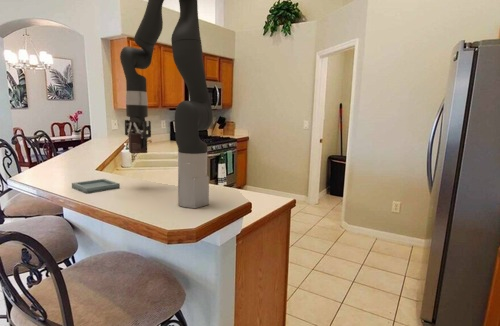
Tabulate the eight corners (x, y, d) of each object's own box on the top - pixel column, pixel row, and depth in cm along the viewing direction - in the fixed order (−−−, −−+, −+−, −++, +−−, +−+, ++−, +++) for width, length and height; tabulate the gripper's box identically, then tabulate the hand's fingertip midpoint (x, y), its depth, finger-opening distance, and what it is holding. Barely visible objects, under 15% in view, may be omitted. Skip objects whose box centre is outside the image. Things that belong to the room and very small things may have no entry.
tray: (119, 188, 121) (119, 183, 121) (86, 193, 111) (86, 188, 111) (104, 183, 129) (104, 178, 128) (71, 187, 119) (71, 183, 119)
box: (147, 153, 117) (147, 133, 116) (130, 153, 115) (129, 133, 114) (145, 151, 123) (144, 132, 122) (128, 151, 120) (128, 132, 119)
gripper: (156, 104, 115) (157, 149, 117) (135, 104, 123) (136, 146, 126) (138, 103, 109) (139, 150, 111) (117, 103, 118) (118, 147, 120)
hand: (137, 148), depth 119 cm, fingers closed on box, 7 cm apart
